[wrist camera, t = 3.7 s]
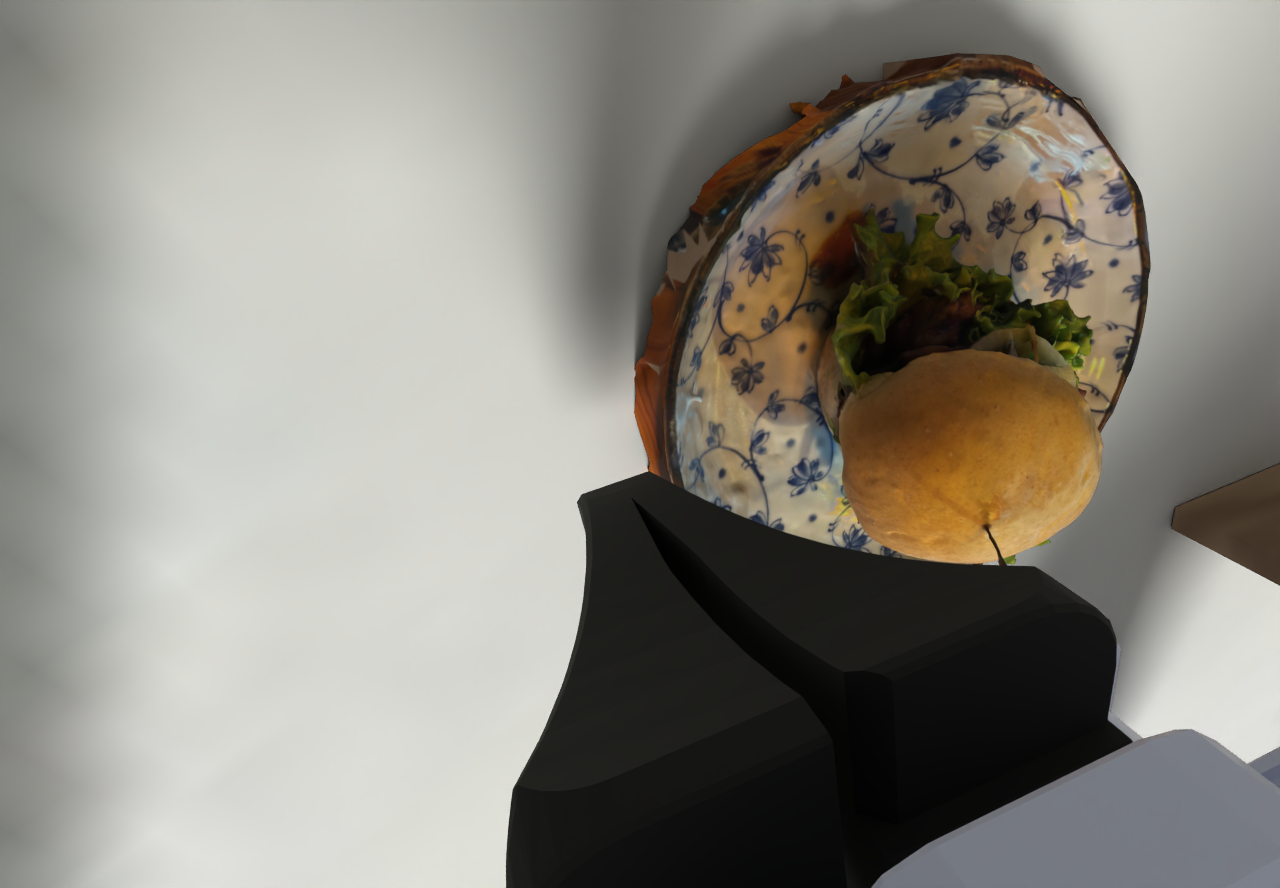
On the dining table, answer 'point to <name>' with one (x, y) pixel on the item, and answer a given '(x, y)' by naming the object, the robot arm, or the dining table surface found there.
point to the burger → (903, 317)
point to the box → (1239, 522)
